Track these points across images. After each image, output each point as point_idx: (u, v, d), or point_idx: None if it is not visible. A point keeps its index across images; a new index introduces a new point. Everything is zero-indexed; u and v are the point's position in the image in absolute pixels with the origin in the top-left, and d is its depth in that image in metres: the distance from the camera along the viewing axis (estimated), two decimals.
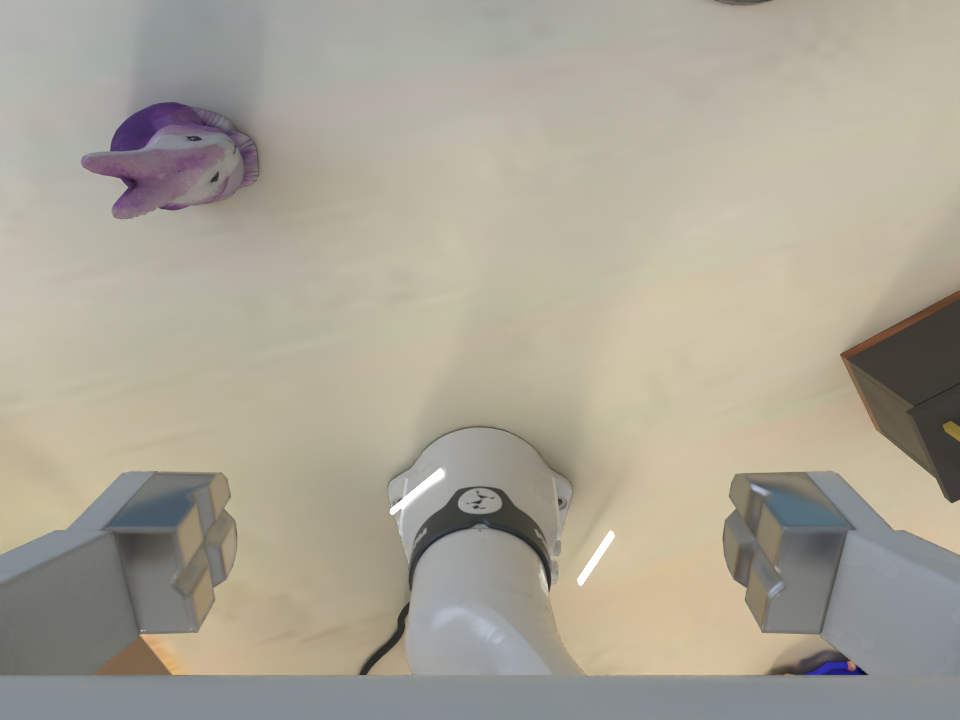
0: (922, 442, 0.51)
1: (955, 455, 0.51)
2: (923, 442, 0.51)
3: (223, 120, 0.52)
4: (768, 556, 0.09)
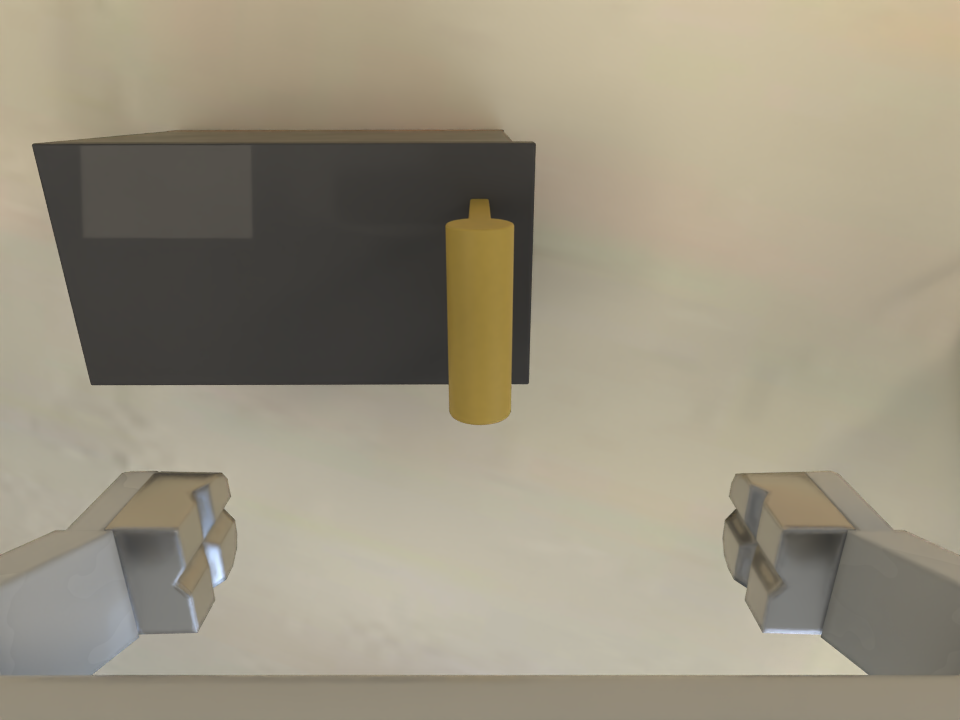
0: None
1: None
2: (530, 319, 0.26)
3: None
4: (768, 556, 0.09)
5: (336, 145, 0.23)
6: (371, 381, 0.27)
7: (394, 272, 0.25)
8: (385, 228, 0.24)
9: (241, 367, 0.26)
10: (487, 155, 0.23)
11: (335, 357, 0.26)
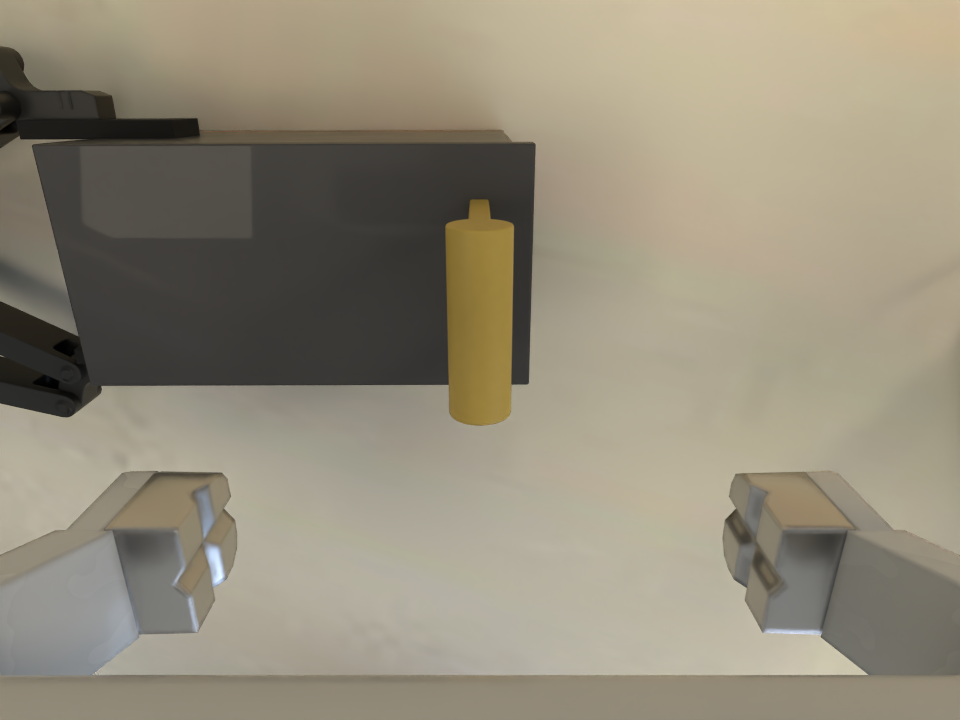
0: None
1: None
2: (530, 320, 0.26)
3: None
4: (768, 556, 0.09)
5: (336, 146, 0.23)
6: (371, 381, 0.27)
7: (393, 273, 0.25)
8: (385, 229, 0.24)
9: (241, 368, 0.26)
10: (487, 156, 0.23)
11: (335, 357, 0.26)
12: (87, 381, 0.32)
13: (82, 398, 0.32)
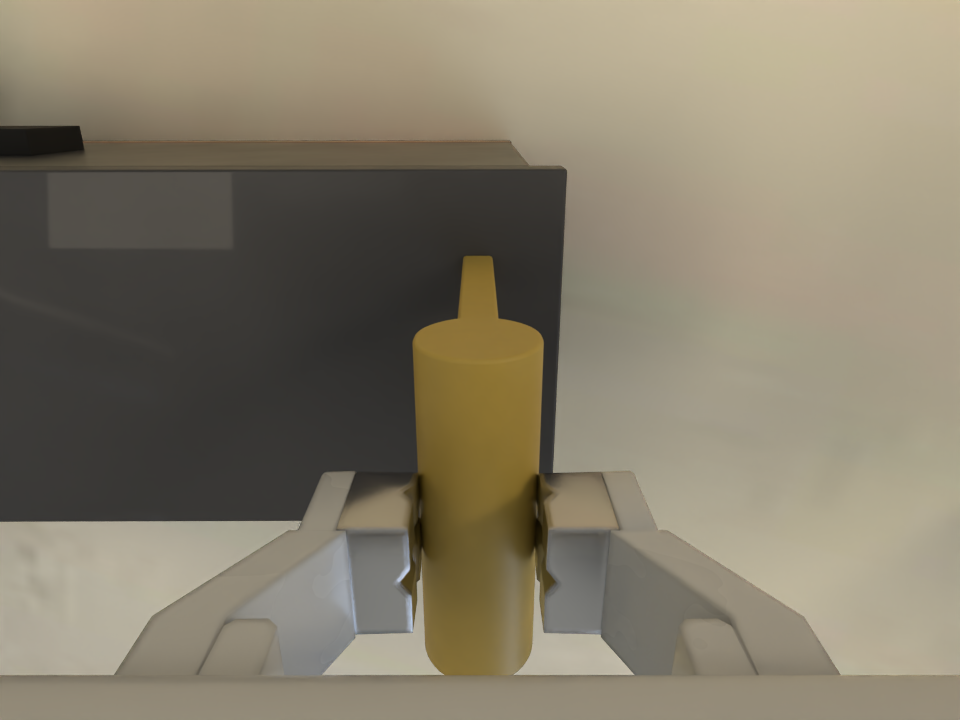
0: None
1: None
2: (554, 430, 0.17)
3: None
4: (544, 556, 0.09)
5: (250, 173, 0.15)
6: None
7: (347, 364, 0.16)
8: (332, 299, 0.16)
9: (124, 498, 0.18)
10: (490, 189, 0.15)
11: (263, 484, 0.18)
12: None
13: None
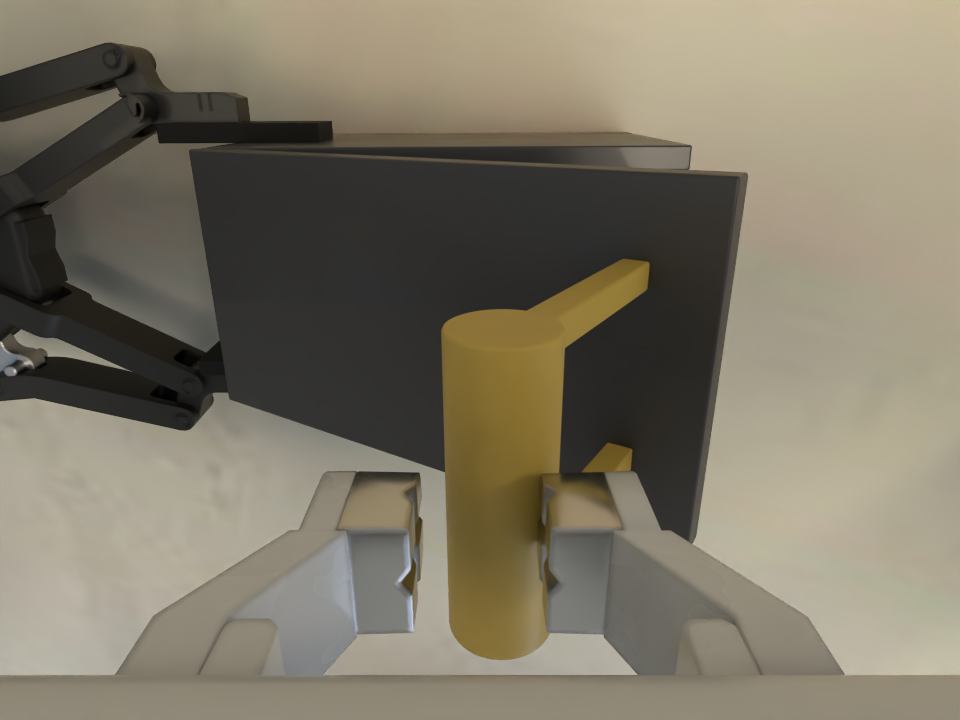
0: (704, 451, 0.16)
1: (642, 354, 0.16)
2: (701, 459, 0.16)
3: None
4: (547, 556, 0.09)
5: (451, 165, 0.17)
6: None
7: None
8: (503, 284, 0.17)
9: (346, 419, 0.22)
10: (655, 192, 0.14)
11: (437, 436, 0.20)
12: (207, 393, 0.31)
13: (200, 410, 0.31)
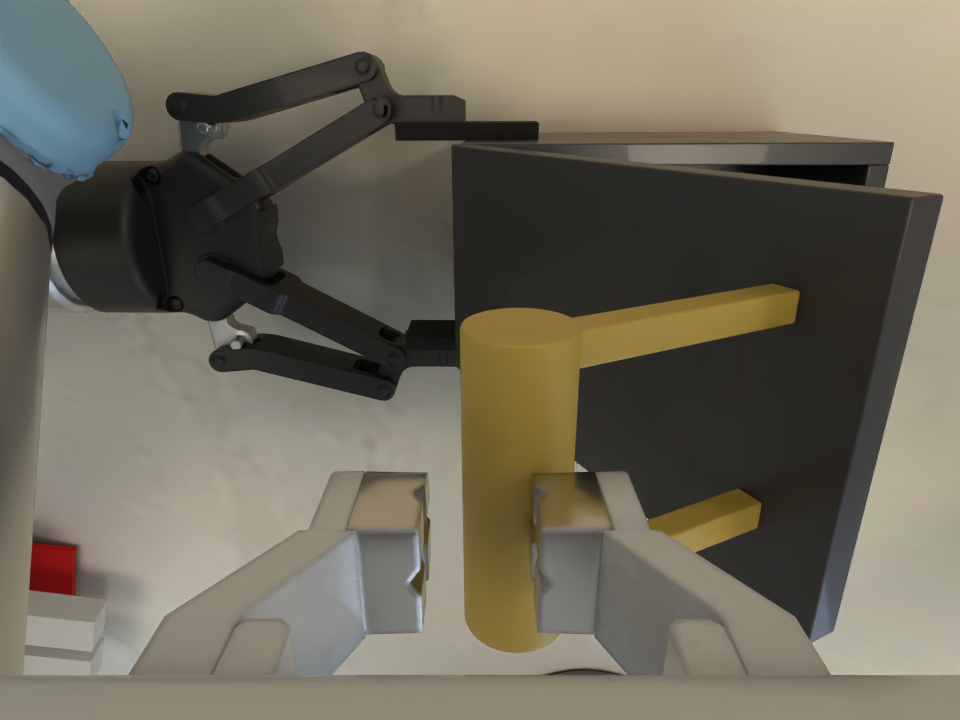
0: (843, 529, 0.13)
1: (782, 395, 0.13)
2: (836, 538, 0.13)
3: None
4: (537, 556, 0.09)
5: (628, 168, 0.17)
6: None
7: (660, 361, 0.17)
8: (660, 296, 0.16)
9: None
10: (814, 210, 0.12)
11: (592, 440, 0.20)
12: (406, 367, 0.34)
13: (397, 383, 0.35)
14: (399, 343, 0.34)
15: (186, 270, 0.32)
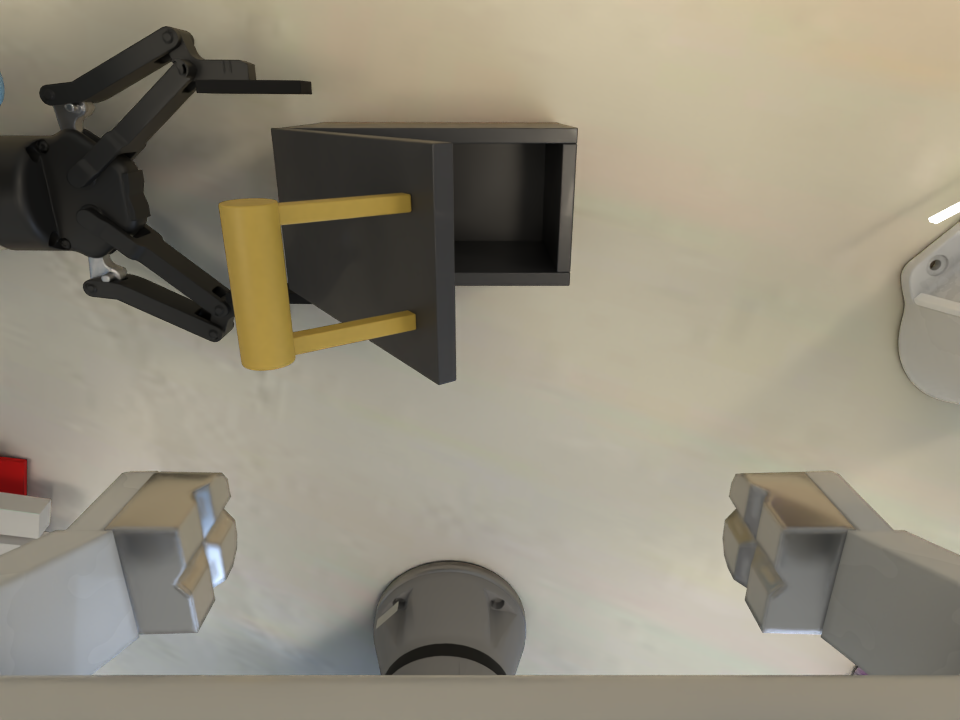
0: (443, 316, 0.26)
1: (413, 252, 0.26)
2: (439, 321, 0.26)
3: None
4: (768, 556, 0.09)
5: (349, 137, 0.29)
6: None
7: (374, 249, 0.29)
8: None
9: (326, 300, 0.35)
10: (409, 153, 0.25)
11: (356, 310, 0.32)
12: (230, 316, 0.46)
13: (226, 331, 0.47)
14: (226, 299, 0.46)
15: (72, 217, 0.43)
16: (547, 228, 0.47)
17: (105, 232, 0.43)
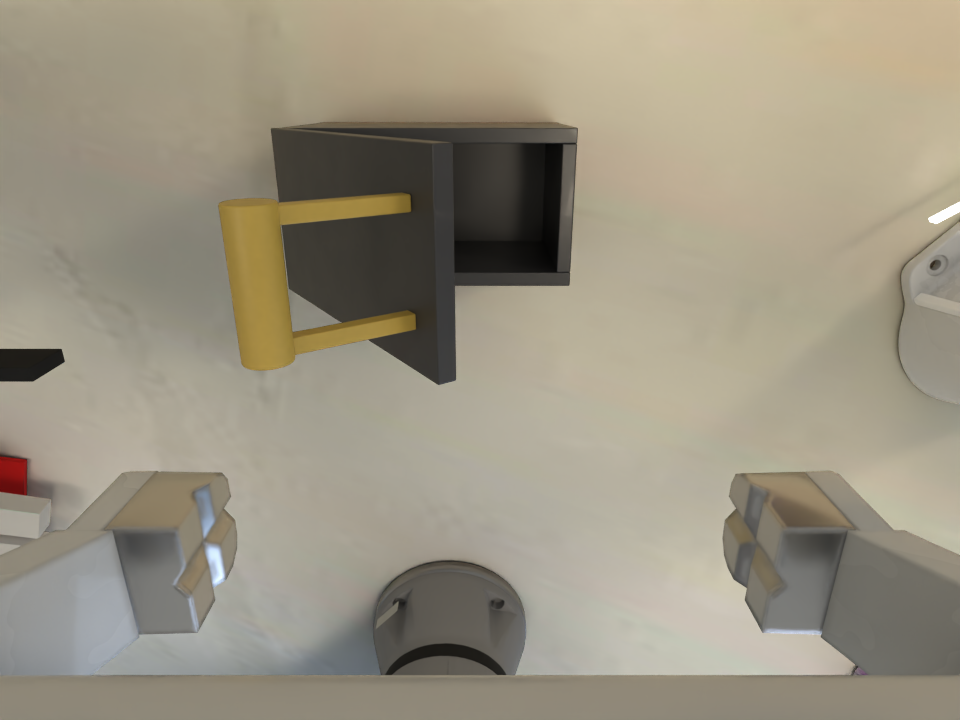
0: (443, 316, 0.26)
1: (413, 252, 0.26)
2: (439, 320, 0.26)
3: None
4: (768, 556, 0.09)
5: (349, 137, 0.29)
6: None
7: (374, 249, 0.29)
8: None
9: (326, 300, 0.35)
10: (409, 153, 0.25)
11: (355, 310, 0.32)
12: None
13: None
14: None
15: None
16: (547, 228, 0.47)
17: None
